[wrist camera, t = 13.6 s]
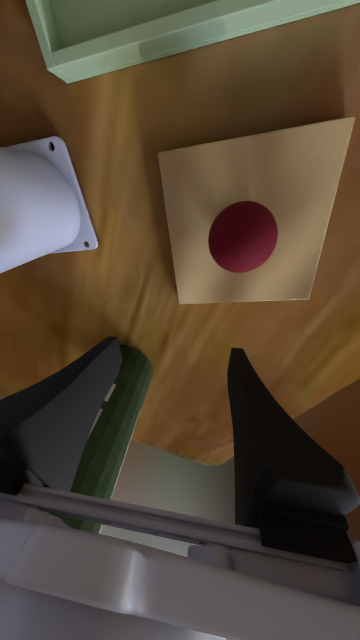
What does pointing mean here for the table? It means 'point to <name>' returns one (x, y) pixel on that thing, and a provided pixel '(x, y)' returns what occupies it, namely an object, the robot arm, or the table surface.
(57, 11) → the tray
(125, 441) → the wine bottle
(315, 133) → the board
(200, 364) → the table surface
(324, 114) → the table surface
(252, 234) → the plum
